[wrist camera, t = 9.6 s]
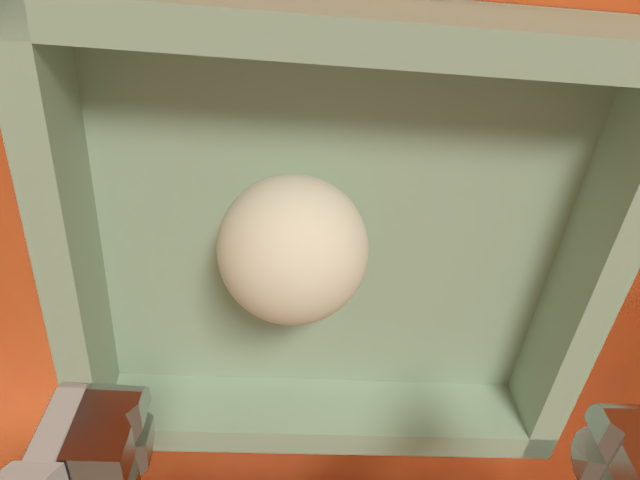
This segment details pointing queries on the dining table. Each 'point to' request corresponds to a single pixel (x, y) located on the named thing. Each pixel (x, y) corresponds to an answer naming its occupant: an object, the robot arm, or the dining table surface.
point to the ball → (292, 249)
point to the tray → (357, 184)
